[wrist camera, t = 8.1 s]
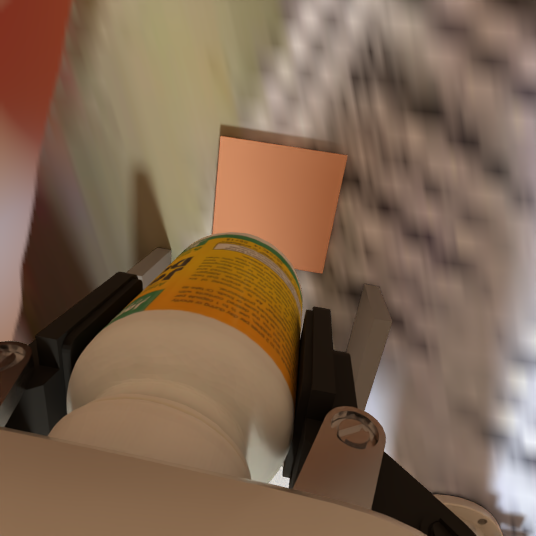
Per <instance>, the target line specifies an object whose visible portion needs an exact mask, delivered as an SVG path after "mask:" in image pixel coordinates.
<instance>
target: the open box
mask: <svg viewBox="0 0 536 536" xmlns="http://www.w3.org/2000/svg"><path fill="white" fill-rule="evenodd" d="M170 264H171V250H168V249H162V248H156V249H155V250H154V251H152V252H151V253H150V254H149V255H147V256H146V257H145V258H144V259H143V260H141V261H140V262H139V263H138V264H136V265H135V266H134V267H133V268H131V269H130V270H129V271H128V272H127V273H130V274H135V275H137V276H138V279H139V280H142V283H143V290H144V289H145V288H146V287H147V286H148V285H149V284H150V283H151V282H152V281H153V280H154V279H155V278H156V277H157V276H158V275H160V274H161V273H162V272H163V271H164V270H165V269H166V268H167V267H168V266H169V265H170ZM391 324H392V320H391V317H390V314H389V311H388V309H387V306H386V303H385V301H384V298H383V295H382V292H381V290H380V287H379V286H373V285H367V284H364V287H363V291H362V295H361V298H360V302H359V306H358V310H357V313H356V317H355V321H354V325H353V328H352V332H351V336H350V340H349V343H348V347H347V351H346V353H349V354H350V356H351V363H352V370H353V378H354V385H355V392H356V399H357V407H358V409H361V410H363V411H364V410H365V407H366V404H367V401H368V397H369V394H370V391H371V388H372V385H373V382H374V378H375V375H376V372H377V369H378V366H379V363H380V359H381V356H382V353H383V350H384V347H385V343H386V340H387V337H388V334H389V331H390V328H391ZM283 464H284V462H283ZM283 464H282V467H283Z"/></svg>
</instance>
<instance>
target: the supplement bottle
mask: <svg viewBox="0 0 536 536" xmlns="http://www.w3.org/2000/svg"><path fill="white" fill-rule="evenodd" d="M302 305H303V298H302V290H301V285H300V282H299V279H298V276H297V274H296V271H295V269H294V268H293V266H292V264H291V263H290V261H289V260H288V259H287V258H286V256H285V255H284V254H283V253H282V252H281V251H280V250H278V249H277V248H276V247H275V246H273V245H272V244H270V243H269V242H267V241H265V240H263V239H261V238H259V237H257V236H254V235H251V234H247V233H237V232H226V233H218V234H213V235H210V236H207V237H204V238H202V239H200V240H198V241H196V242H194V243H193V244H191V245H190V246H189V247H187V248H186V249H185V250H184V251H183V252H182V253H181V254H180V255H179V256H178V257H177V258H176V259H175V260H174V261H173V262H172V263H171V264H170V265H169V266H168V267H167V268H166V269H165V270H164V271H163V272H162V273H161V274H160V275H158V276H157V277H156V278H155V279H154V280H153V281H152V282H151V283H150V284H149V285H148V286H147V287H146V288H145V289H144V290H143V291H142V292H141V293H140V294H139V295H138V296H137V297H136V298H135V299H134V300H133V301H132V302H130V303H129V304H128V305H127V306H126V307H125V308H124V309H123V310H122V311H121V312H120V313H119V314H118V315H117V316H116V317H115V318H114V319H113V320H112V321H111V322H110V323H109V324H108V325H107V326H106V327H104V328H103V329H102V330H101V331H100V332H99V333H98V334H97V335H96V336H95V338H94V339H93V340H92V341H91V342H90V343H89V344H88V345H87V347H86V348H85V349H84V351H83V352H82V353H81V355H80V357H79V358H78V360H77V362H76V364H75V366H74V368H73V371H72V374H71V377H70V380H69V384H68V390H67V415H66V416H64V417H63V418H62V419H61V420H60V421H59V422H58V423H57V424H56V425H55V426H54V427H53V429H52V430H51V432H50V433H49V435H48V436H49V437H54V438H59V439H64V440H68V441H73V442H78V443H83V444H87V445H92V446H97V447H102V448H106V449H111V450H116V451H121V452H125V453H130V454H135V455H139V456H144V457H149V458H154V459H158V460H163V461H168V462H172V463H177V464H181V465H186V466H191V467H195V468H200V469H204V470H209V471H213V472H218V473H223V474H227V475H232V476H236V477H241V478H246V479H250V480H255V481H259V482H264V483H269V482H270V481H271V480H272V479H273V477H274V476H275V475H276V473H277V472H278V470H279V469H280V467H281V466H282V464H283V462H284V460H285V458H286V456H287V454H288V451H289V448H290V444H291V441H292V436H293V428H294V419H295V407H296V390H297V377H298V361H299V347H300V334H301V323H302Z"/></svg>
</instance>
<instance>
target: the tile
mask: <svg viewBox="0 0 536 536" xmlns="http://www.w3.org/2000/svg"><path fill="white" fill-rule="evenodd" d="M346 161H347V155H344V154H337V153H331V152H324V151H318V150H311V149H305V148H298V147H292V146H285V145H279V144H272V143H266V142H260V141H253V140H247V139H240V138H234V137H227V136H220V149H219V161H218V173H217V185H216V198H215V210H214V222H213V234H218V233H226V232H237V233H247V234H251V235H254V236H257V237H259V238H261V239H263V240H265V241H267V242H269V243H270V244H272V245H273V246H275V247H276V248H277V249H278V250H280V251H281V252H282V253H283V254H284V255H285V256H286V258H287V259H288V260H289V261H290V263H291V264H292V266H293V268H294V269H298V270H304V271H310V272H316V273H321V274H322V273H323V268H324V263H325V259H326V254H327V249H328V245H329V240H330V235H331V231H332V226H333V222H334V217H335V212H336V208H337V203H338V198H339V194H340V189H341V184H342V180H343V175H344V170H345V166H346Z"/></svg>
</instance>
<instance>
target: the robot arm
mask: <svg viewBox="0 0 536 536" xmlns="http://www.w3.org/2000/svg"><path fill="white" fill-rule="evenodd" d="M142 291H143V283H142V280H139V279H138V276H137V275H135V274H130V273H124V272H118V273H116V274H115V275H114V276H112V277H111V278H110V279H108V280H107V281H106V282H104V283H103V284H102V285H101V286H99V287H98V288H97V289H95V290H94V291H93V292H91V293H90V294H89V295H87V296H86V297H85V298H84V299H82V300H81V301H80V302H78V303H77V304H76V305H74V306H73V307H72V308H71V309H69V310H68V311H67V312H65V313H64V314H63V315H61V316H60V317H59V318H58V319H56V320H55V321H54V322H52V323H51V324H50V325H48V326H47V327H46V328H45V329H43V330H42V331H41V332H39V333H38V334H37V335H35V337H36V340H34V341H33V342H32V343H31V344H29V345H27V344H25V343H22V342H17V341H5V342H0V536H503V534H502V531H501V529H500V527H499V525H498V523H497V521H496V520H495V518H494V517H493V516H492V515H491V514H490V513H489V512H488V511H487V510H486V509H484V508H483V507H481V506H479V505H478V504H476V503H474V502H471V501H469V500H466V499H463V498H460V497H455V496H450V495H438V494H434V495H433V494H432V493H430V492H429V491H428V490H427V489H426V488H425V487H424V486H423V485H421V484H420V483H419V482H418V481H417V480H416V479H415V478H413V477H412V476H411V475H410V474H409V473H408V472H407V471H406V470H404V469H403V468H402V467H401V466H400V465H399V464H398V463H397V462H395V461H394V460H393V459H392V458H391V457H390V456H389V455H388V454H386V453H385V452H384V448H385V443H386V435H385V432H384V430H383V427H382V426H381V425H380V423H379V422H378V421H377V420H376V419H375V418H374V417H373V416H371V415H370V414H369V413H367V412H365V411H363V410H361V409H358V407H357V399H356V392H355V385H354V378H353V370H352V363H351V356H350V354H349V353H346V352H340V351H335V350H333V341H332V326H331V311H330V309H325V308H319V307H313V310H312V311H311V310H306V313H305V318H304V323H303V328H302V333H301V338H300V347H299V361H298V377H297V390H296V407H295V419H294V428H293V436H292V441H291V444H290V448H289V451H288V454H287V456H286V458H285V460H284V464H283V477H288V478H290V480H289V488H285V487H281V486H277V485H272V484H268V483H264V482H259V481H255V480H250V479H246V478H241V477H236V476H232V475H227V474H223V473H218V472H213V471H209V470H204V469H200V468H195V467H191V466H186V465H181V464H177V463H172V462H168V461H163V460H158V459H154V458H149V457H144V456H139V455H135V454H130V453H125V452H121V451H116V450H111V449H106V448H102V447H97V446H92V445H87V444H83V443H78V442H73V441H68V440H64V439H59V438H54V437H49V436H48V435H49V433H50V432H51V430H52V429H53V427H54V426H55V425H56V424H57V423H58V422H59V421H60V420H61V419H62V418H63V417H64V416H66V415H67V390H68V384H69V380H70V377H71V374H72V371H73V368H74V366H75V364H76V362H77V360H78V358H79V357H80V355H81V353H82V352H83V351H84V349H85V348H86V347H87V345H88V344H89V343H90V342H91V341H92V340H93V339H94V338H95V336H96V335H97V334H98V333H99V332H100V331H101V330H102V329H103V328H104V327H106V326H107V325H108V324H109V323H110V322H111V321H112V320H113V319H114V318H115V317H116V316H117V315H118V314H119V313H120V312H121V311H122V310H123V309H124V308H125V307H126V306H127V305H128V304H129V303H130V302H132V301H133V300H134V299H135V298H136V297H137V296H138V295H139V294H140V293H141V292H142Z"/></svg>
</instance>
